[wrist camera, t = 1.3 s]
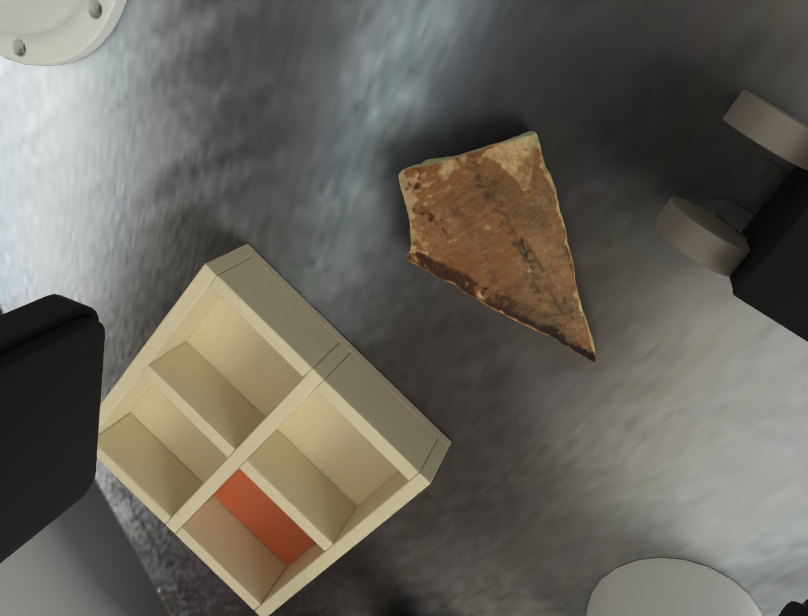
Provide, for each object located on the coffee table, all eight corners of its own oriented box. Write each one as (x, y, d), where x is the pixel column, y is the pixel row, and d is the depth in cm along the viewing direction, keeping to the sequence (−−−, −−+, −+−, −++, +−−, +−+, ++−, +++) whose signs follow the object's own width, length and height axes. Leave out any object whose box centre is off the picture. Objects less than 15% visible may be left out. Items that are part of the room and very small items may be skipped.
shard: (599, 350, 34) (596, 365, 32) (450, 372, 36) (441, 387, 35) (545, 126, 31) (539, 130, 29) (390, 170, 34) (377, 176, 32)
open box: (122, 406, 45) (74, 438, 41) (247, 242, 38) (204, 263, 34) (294, 573, 45) (263, 620, 41) (452, 442, 38) (431, 484, 34)
